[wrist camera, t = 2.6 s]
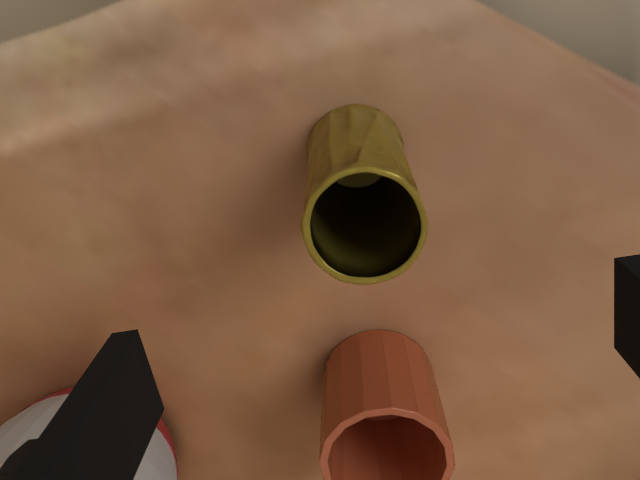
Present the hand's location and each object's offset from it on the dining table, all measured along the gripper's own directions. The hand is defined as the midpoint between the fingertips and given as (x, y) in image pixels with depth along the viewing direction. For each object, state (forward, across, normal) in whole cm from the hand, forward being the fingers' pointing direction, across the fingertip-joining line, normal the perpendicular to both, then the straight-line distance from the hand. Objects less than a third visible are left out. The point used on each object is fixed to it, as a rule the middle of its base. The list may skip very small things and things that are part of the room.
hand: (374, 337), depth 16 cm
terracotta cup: (+23, +1, +17) cm, 28 cm away
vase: (+23, 0, 0) cm, 23 cm away
